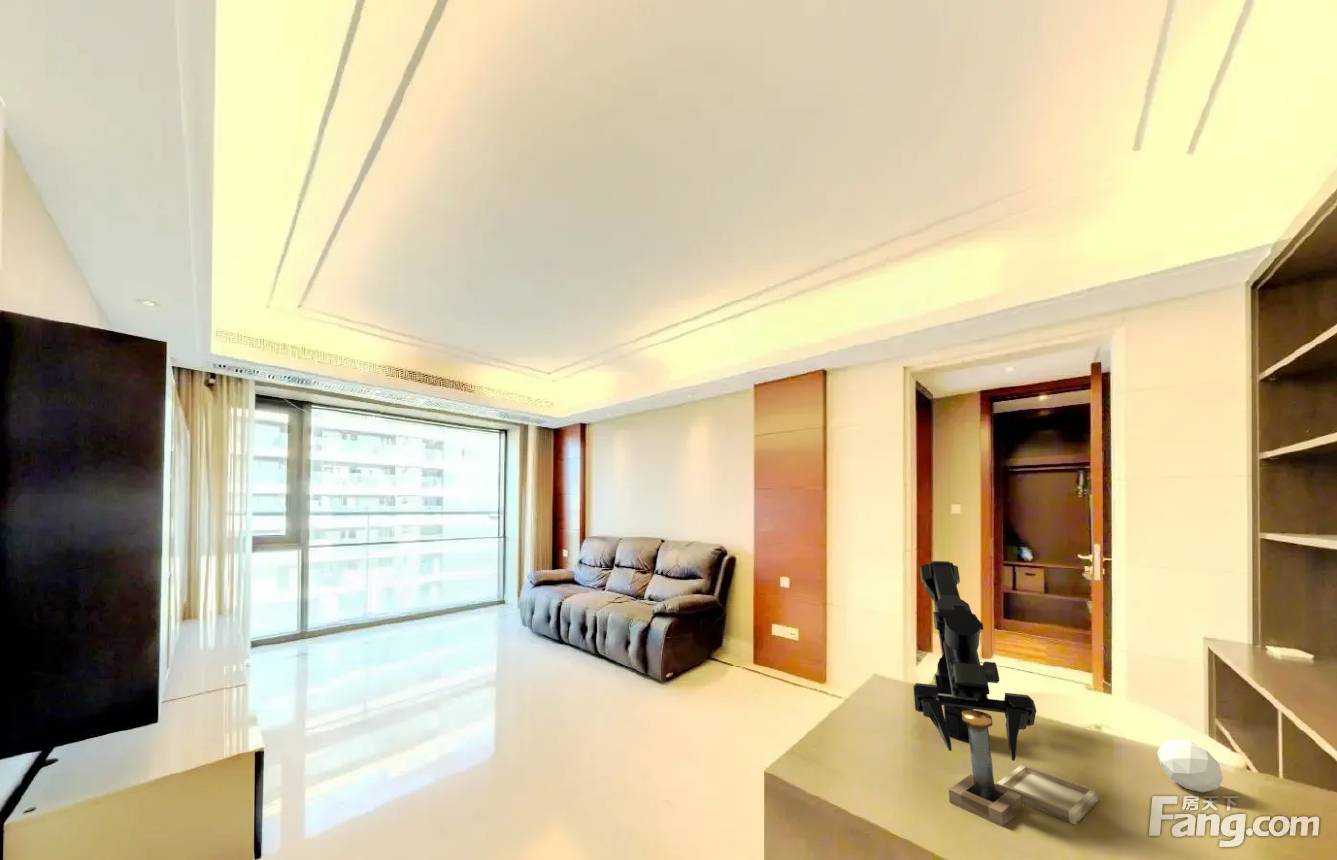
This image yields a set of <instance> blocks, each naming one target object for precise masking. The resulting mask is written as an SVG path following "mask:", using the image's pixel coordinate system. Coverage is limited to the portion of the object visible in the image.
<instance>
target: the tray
mask: <svg viewBox="0 0 1337 860" xmlns="http://www.w3.org/2000/svg"><path fill="white" fill-rule="evenodd" d="M996 785H999V786H1001V787H1004V788H1006V789H1009V790H1011V791H1014V792H1016V793H1019V794H1021V795H1022V796H1023V805H1027V806H1029V807H1032V808H1034V809H1036V810H1039V811H1042V812H1043V813H1046V814H1047V815H1048V814H1049V815H1051V816H1053V817H1056V818H1058V819H1061V820H1063V821H1065V822H1068V823H1070V824H1073V825H1076V826H1077V825H1078V824H1079V822H1080V821H1081V820H1082V819H1083V818H1084V817H1085V816H1086V815H1087V814H1088V812H1089V811H1091V809H1092V808H1094V806H1095V805H1096V804H1097V803H1098V802H1099V800H1100V799H1099V794H1098V790H1097V789H1095V788H1091V787H1088V786H1086V785H1084V784H1080V783H1078V782H1075V781H1072V780H1069V779H1066V778H1063V777H1060V776H1058V775H1055V774H1052V773H1049V772H1047V771H1045V770H1041V769H1039V768H1036V767H1032V766H1029V765H1027V764H1024V763H1021V764H1020V765H1018V766H1017V767H1016V768H1015V769H1013V770H1012V771H1011V772H1010V773H1008V774H1006V775H1005V776H1004V777H1003V778H1002V779H1000V780H999V781H998V782H996ZM1097 801H1098V802H1097ZM1096 802H1097V803H1096ZM1095 803H1096V804H1095ZM1094 804H1095V805H1094ZM1091 807H1092V808H1091ZM1090 808H1091V809H1090ZM1086 813H1087V814H1086ZM1085 814H1086V815H1085Z"/></svg>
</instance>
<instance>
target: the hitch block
mask: <svg viewBox="0 0 1337 860" xmlns="http://www.w3.org/2000/svg"><path fill="white" fill-rule="evenodd" d="M994 784H995V793H996V801H995V802H991V801H989V800H986V799H984V798H982V797H979V796H977V795H975V789H974V779H973V774H969V775H968V776H966V777H964V778H963V779H962V780H961V781H959V782H957V783H956V784H954V785H953V786H951V787H950V788H948V797H949V803H950V804H953V805H955V806H957V807H958V808H961V809H963V810H966V811H967V812H970V813H972V814H974V815H976V816H979V817H981V818H983V819H985V820H986V821H987V820H988V821H989V822H992V823H994V824H996V825H998V824H999V825H998V826H1001V827H1004V826H1006V825H1007V824H1008V823H1009V822H1010V821H1012V819H1014V818H1015V817H1016V816H1017V815H1018V814H1020V813H1021V811H1023V810H1024V809H1025V804H1024V803H1023V796H1022V795H1021V794H1019V793H1016V792H1014V791H1011V790H1009V789H1006V788H1004V787H1001V786H999V785H997V783H994Z"/></svg>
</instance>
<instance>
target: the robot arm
mask: <svg viewBox="0 0 1337 860" xmlns="http://www.w3.org/2000/svg"><path fill="white" fill-rule="evenodd" d="M919 571H920V572H919V573H920V574H919V575H920V582H921V583H924V589H925V593H926V594H927V595H928V596H929V597H930V598H931V600H933V605H934V610H935V611H933V612H932V613H933V623H934V628H935V630H937V631H938V638H939V645H940V651H941V657H940V658H939V659H938V662H937V667H936V674H934V684H928V683H921V682H916V683H914V685H913V699H914V700H913V702H914V708H915V711H917V712H919V713H923V717H926V718H929V719H930V720H931V722H932V723H933V725H934V727H935V728H936V730H938V733H939V736H941V738H942V740H943V742H944V744H945V746H946V748H947V750H948V751H949V752H952V741H951V738H950V736H951V737H954V738H956V739H959V740H962V741H965V742H968V743H970V742H969V733H968V724H967V723H966V722H964V721H963V719H962V711H964V710H976V711H986V712H993V713H1003V714H1004V716H1005V720H1006V722H1005V730H1006V736H1007V744H1008V749H1009V750H1008V751H1009V752H1008V753H1009V755H1010V759H1011V761H1012V762H1013V761H1014V762H1015V761H1016V754H1017V742H1018V737H1019V736H1018V735H1019V731H1020V730H1026V729H1027V727H1030V726H1034V723H1035V719H1036V715H1037V707H1036V704H1035V701H1034V699H1033V698H1031V696H1030V695H1028V694H1022V693H1021V694H1019V693H1012V692H1004V700H1002V699H993V698H989V696H988V695H990V688H989V683H993V684H998V683H999V682H1000V675H999V669H998V667H997V662H994V661H993V662H992V661H984V662H983V663H982V664H981V661H980V658H979V657H980V656H979V653H978V652H979V651H978V648H979V645H980V637H981V636H980V635H981V632H982V630H984V625H983V622H981V620H980V619H979V618H978V617H977V615H976V614H975V613H973V612H972V609H971V607H970V605H969V603H968V602H966V601H965V600H963V599H961V595H960V592H959V589H958V586H957V585H959V584H960V582H961V580H960V579H961V578H960V571H959V566H958V565H955V564H954V563H953V562H950V561H948V560H947V561H946V560H944V561H943V560H942V561H941V560H932V561H929V562H928V563H926V564H922V565H920V568H919Z"/></svg>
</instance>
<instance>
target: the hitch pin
mask: <svg viewBox="0 0 1337 860" xmlns="http://www.w3.org/2000/svg"><path fill="white" fill-rule="evenodd" d="M962 719H963V721H964V722H966V723H967V724H968V733H969V742H968V743H969V749H970V758H971V759H970V760H971V767H972V775H973V779H974V789H975V795H977V796H979V797H982V798H984V799H986V800H989V801H991V802H995V801H996V793H995V784H996V783H995V777H994V768H993V760H992V759H993V757H992V750H991V741H990V733H989V727H992V726H993V718H992V715H990V714H988V713H987V712H984V711H982V710H977V709H973V710H964V711H962Z"/></svg>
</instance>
